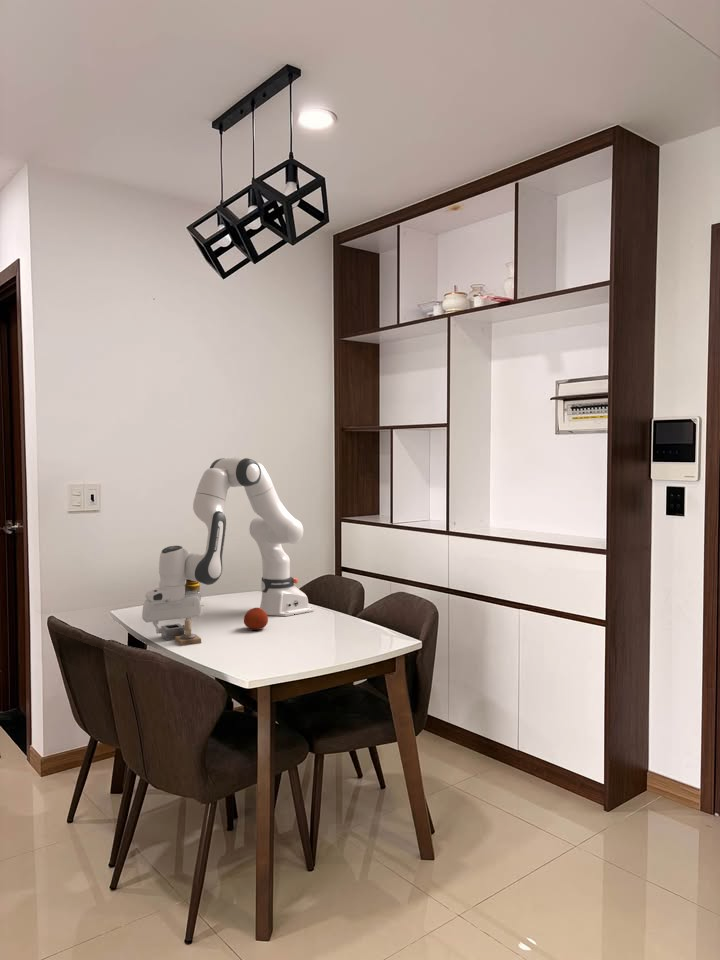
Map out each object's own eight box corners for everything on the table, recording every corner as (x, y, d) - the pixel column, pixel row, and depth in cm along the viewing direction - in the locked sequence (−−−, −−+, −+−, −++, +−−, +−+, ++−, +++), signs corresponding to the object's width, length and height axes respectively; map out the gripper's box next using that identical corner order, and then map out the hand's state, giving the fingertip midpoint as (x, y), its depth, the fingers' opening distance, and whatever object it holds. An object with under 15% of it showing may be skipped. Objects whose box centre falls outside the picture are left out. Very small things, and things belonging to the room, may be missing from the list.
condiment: (203, 605, 311) (203, 577, 310) (186, 608, 305) (185, 580, 305) (194, 603, 316) (194, 575, 316) (177, 606, 310) (176, 577, 310)
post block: (194, 638, 259) (194, 617, 259) (201, 643, 253) (201, 621, 253) (175, 640, 255) (174, 619, 255) (181, 645, 249) (180, 623, 249)
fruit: (241, 627, 275) (241, 606, 274) (264, 625, 278) (264, 604, 277) (246, 633, 266) (246, 611, 266) (270, 631, 270) (270, 609, 269)
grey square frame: (179, 634, 264) (179, 623, 264) (184, 638, 258) (184, 627, 258) (161, 636, 261) (161, 625, 261) (166, 641, 255) (166, 629, 255)
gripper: (198, 588, 267) (198, 626, 267) (140, 593, 256) (141, 633, 257) (203, 591, 261) (203, 630, 262) (145, 596, 251) (145, 637, 252)
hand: (172, 631), depth 259 cm, fingers open, 8 cm apart
